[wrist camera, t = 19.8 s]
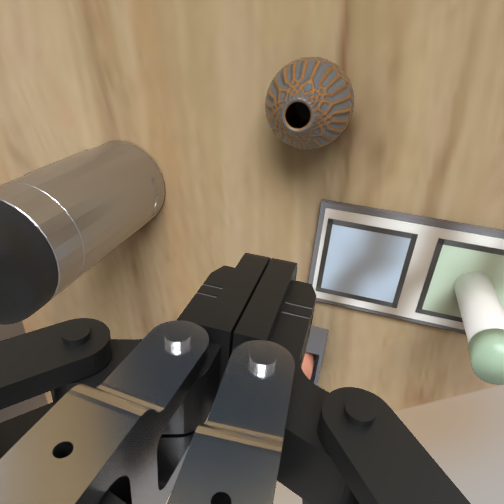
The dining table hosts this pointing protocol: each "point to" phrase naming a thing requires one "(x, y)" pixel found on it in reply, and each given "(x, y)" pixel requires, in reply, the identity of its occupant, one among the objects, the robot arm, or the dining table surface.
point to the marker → (482, 325)
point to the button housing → (317, 349)
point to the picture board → (400, 262)
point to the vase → (309, 103)
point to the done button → (308, 364)
